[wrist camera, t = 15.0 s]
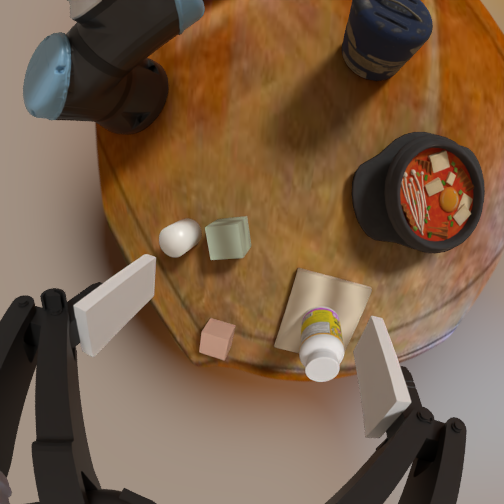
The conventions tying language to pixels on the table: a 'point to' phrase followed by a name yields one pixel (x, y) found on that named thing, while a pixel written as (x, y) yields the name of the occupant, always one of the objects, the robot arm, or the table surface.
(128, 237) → the table surface
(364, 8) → the canister
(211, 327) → the terracotta block
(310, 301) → the birch board
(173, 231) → the white domed cylinder
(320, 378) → the supplement bottle
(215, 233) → the sage block
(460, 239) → the casserole
